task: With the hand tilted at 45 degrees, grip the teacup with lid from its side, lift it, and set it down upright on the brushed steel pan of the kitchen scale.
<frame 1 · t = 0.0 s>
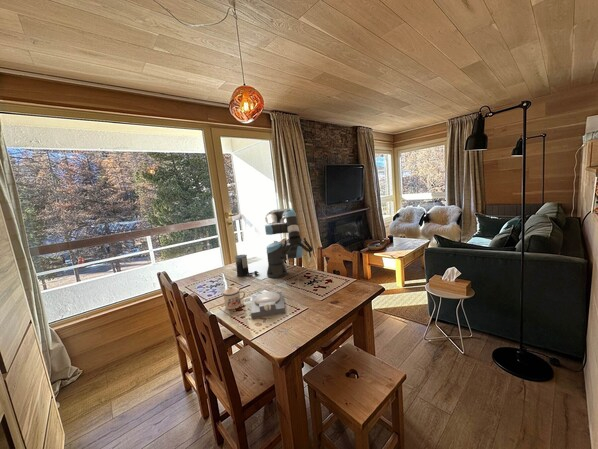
hand: (299, 263, 158), 15 cm above the table, tool tilted 35°, fingers open, 13 cm apart
milk frother: (247, 275, 192), on the table
teacup with lid: (236, 305, 143), on the table
kitchen scale: (268, 306, 138), on the table
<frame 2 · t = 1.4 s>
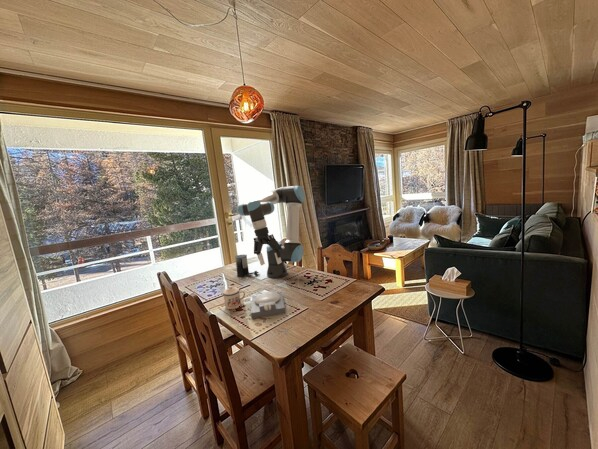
hand: (271, 264, 143), 21 cm above the table, tool pointing down, fingers open, 13 cm apart
nothing on the table moved.
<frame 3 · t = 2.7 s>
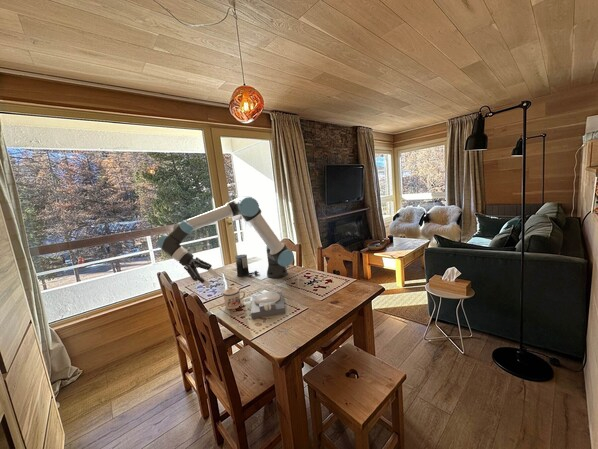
hand: (214, 280, 141), 16 cm above the table, tool tilted 45°, fingers open, 13 cm apart
nothing on the table moved.
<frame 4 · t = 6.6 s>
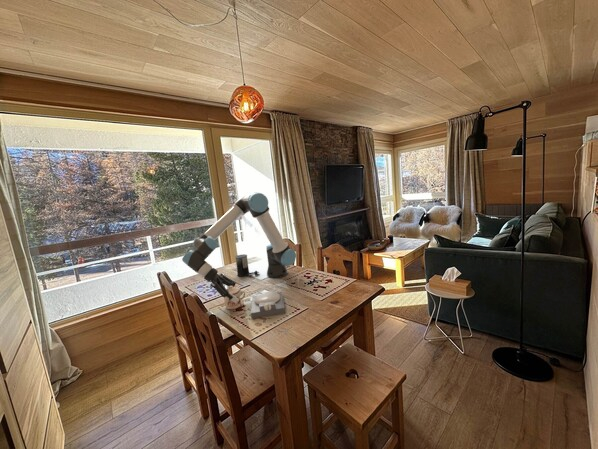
hand: (239, 297, 142), 5 cm above the table, tool tilted 45°, fingers closed on teacup with lid, 9 cm apart
teacup with lid: (236, 305, 143), on the table, touching gripper
everything else where it was.
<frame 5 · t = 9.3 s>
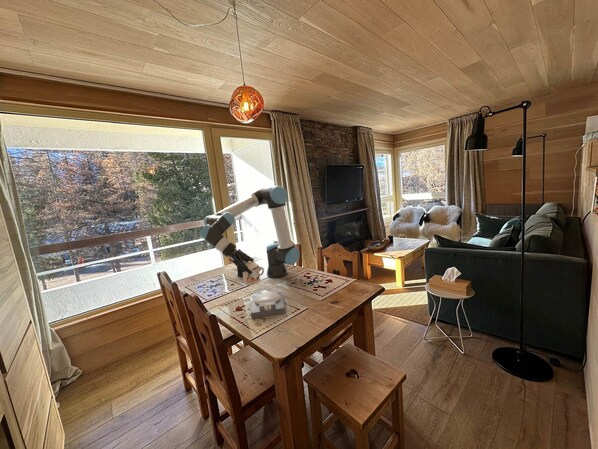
hand: (258, 273, 137), 18 cm above the table, tool tilted 45°, fingers closed on teacup with lid, 9 cm apart
teacup with lid: (254, 281, 139), point 14 cm above the table, touching gripper
everything else where it was.
when the fingers open (10 cm above the table, at t = 11.9 s): teacup with lid stays where it is, resting on kitchen scale.
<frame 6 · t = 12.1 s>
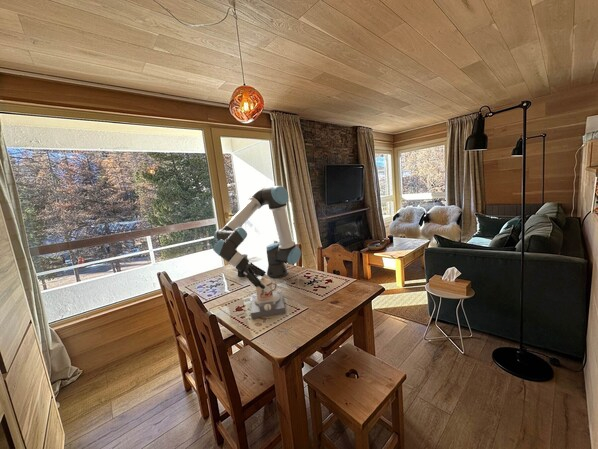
hand: (271, 287, 138), 10 cm above the table, tool tilted 45°, fingers open, 11 cm apart
teacup with lid: (267, 297, 140), point 4 cm above the table, touching kitchen scale
everything else where it was.
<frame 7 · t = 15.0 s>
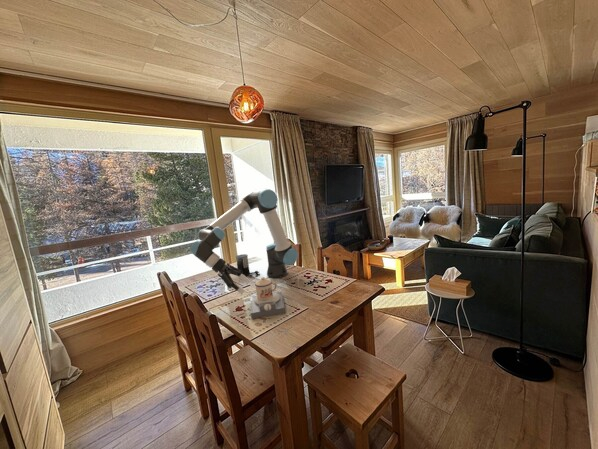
hand: (246, 287, 139), 11 cm above the table, tool tilted 45°, fingers open, 13 cm apart
nothing on the table moved.
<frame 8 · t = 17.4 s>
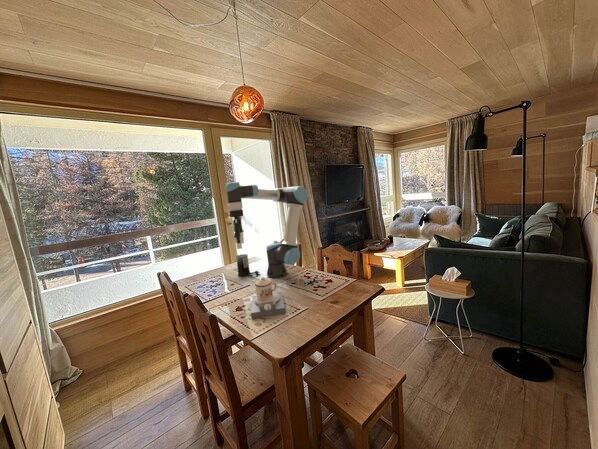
hand: (240, 245, 148), 32 cm above the table, tool pointing down, fingers open, 13 cm apart
nothing on the table moved.
at the end: teacup with lid inside the target area on the kitchen scale (0.8 cm from its centre), point 4.0 cm above the kitchen scale's base; teacup with lid tilted 0°; the gripper is holding nothing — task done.
